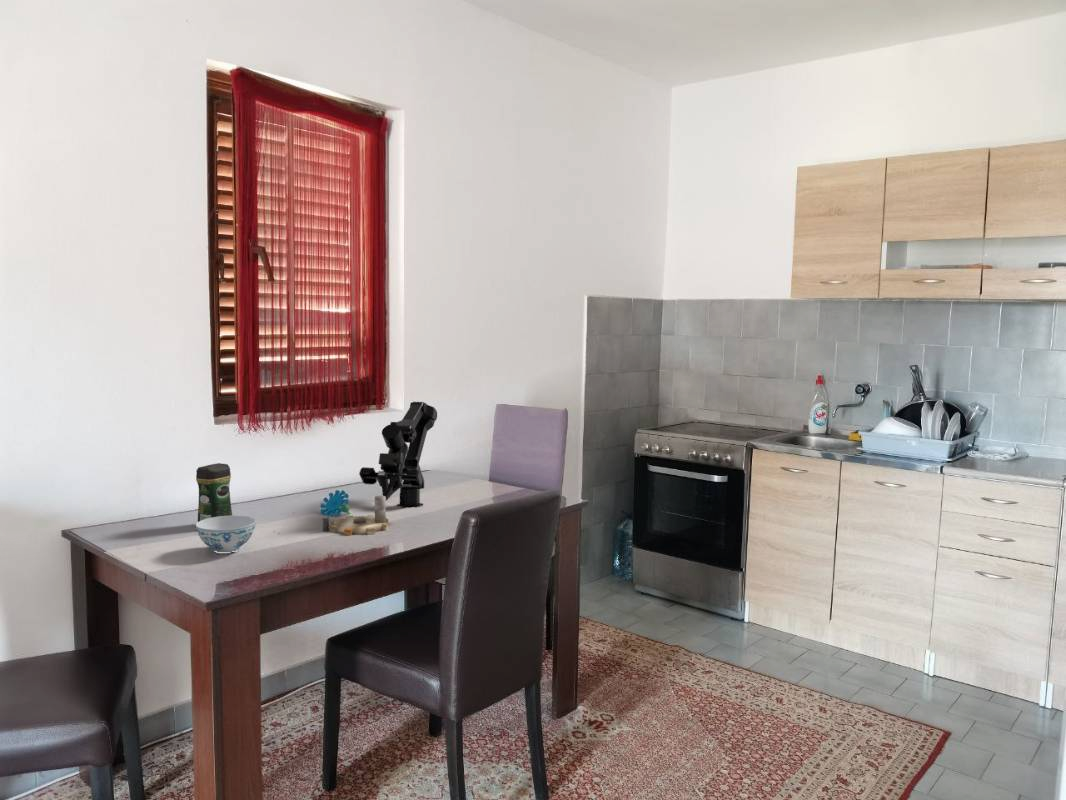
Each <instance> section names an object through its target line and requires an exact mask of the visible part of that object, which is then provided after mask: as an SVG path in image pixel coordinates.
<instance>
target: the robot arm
mask: <svg viewBox="0 0 1066 800" xmlns="http://www.w3.org/2000/svg"><path fill="white" fill-rule="evenodd" d="M437 420H438V411H437V409H436V408H435V406H431V405H428V404H427V403H426V402H424V401H412V402H410V404H409V408H408V410H407V411H406V413H405V414H404V416H403V418H402V419H401V420H399V421H390V424H388V425H386V426H384V427H383V429H382V431H381V435H382V438H383V440H384V443H385V446H386V448H388V452H387V453H379V458H378V465H380V470H378V472H377V471H376V470H375V467H368V466H367V467H362V468H360V471H359V473H358V474H359V477H360V478H361V481H362V483H363V484H364V485H375V484H376V483H377V482H378V484H379V486H380V487H381V491H382V493H381V494H382V496H385V497H386V502H387V500H389V499H390V497H392V495H393V494H394V493H396V492H397V491H398V490H399V503H397V504H396V506H397V507H400V506H402V507H401V508H406V507H407V508H406V509H408V508H409V509H410V508H412V507H414V508H417V507H416V506H418V507H421V506H424V503H422V502H420V499H421V498H420V497H421V496H420V495H421V489H422V490H423V489H425V477H424V476H423V473H422V468H421V466H420V460H421V457H422V453H423V449H424V445H425V442H426V438H427V437H426V436H427V435H428V434H427V433H428V432H429V431H430V430H431V429H433V427H434V426H435V422H436V421H437ZM407 443H408V444H409V445H408V444H407ZM420 505H421V506H420Z"/></svg>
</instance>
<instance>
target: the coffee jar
mask: <svg viewBox="0 0 1066 800" xmlns="http://www.w3.org/2000/svg"><path fill="white" fill-rule="evenodd" d="M231 474H232V473H231V468H230V466H229V464H227V463H222V462H221V463H220V462H219V463H218V462H217V463H212V464H208V465H207V464H206V465H202V466H199V467H198V468H197V469H196V475H195V477H196V478H195V479H196V483H197V487H198V505H197V507H198V508H197V510H198V512H197V522H199V521H201V520H204V519H208V518H213V517H220V516H233V512H232V511H233V510H232V502H231V493H230V482H231V477H232V475H231Z"/></svg>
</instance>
